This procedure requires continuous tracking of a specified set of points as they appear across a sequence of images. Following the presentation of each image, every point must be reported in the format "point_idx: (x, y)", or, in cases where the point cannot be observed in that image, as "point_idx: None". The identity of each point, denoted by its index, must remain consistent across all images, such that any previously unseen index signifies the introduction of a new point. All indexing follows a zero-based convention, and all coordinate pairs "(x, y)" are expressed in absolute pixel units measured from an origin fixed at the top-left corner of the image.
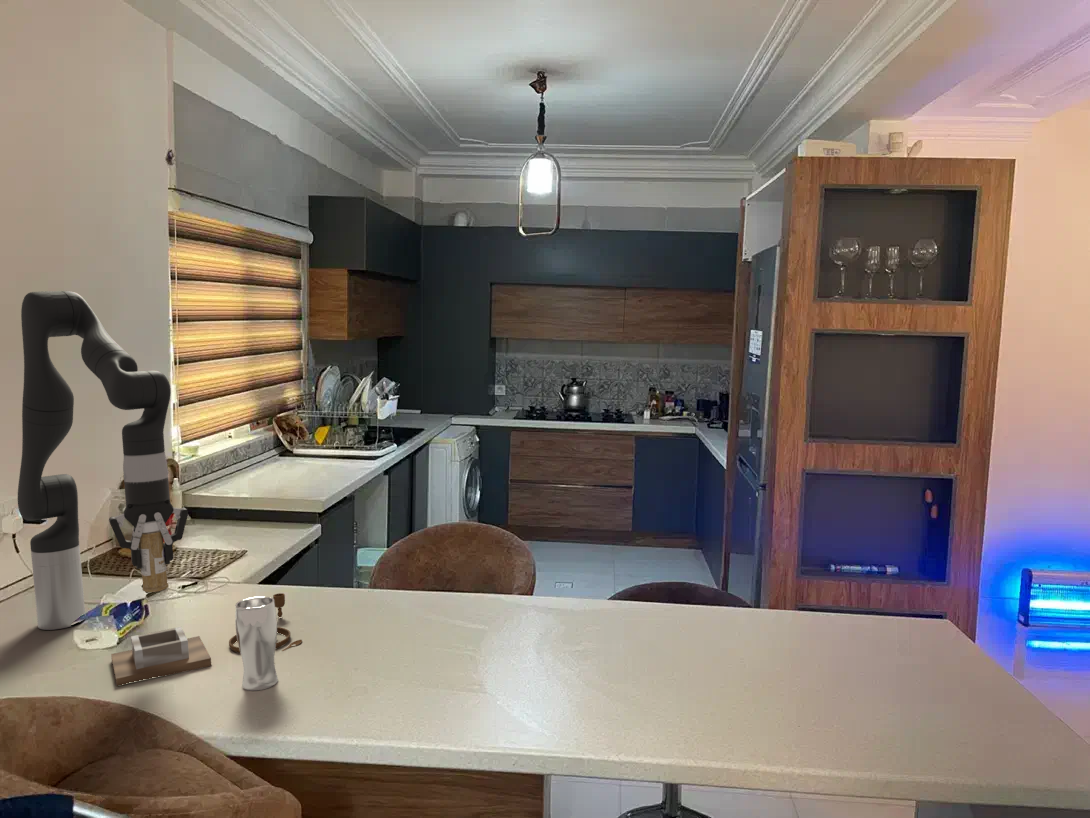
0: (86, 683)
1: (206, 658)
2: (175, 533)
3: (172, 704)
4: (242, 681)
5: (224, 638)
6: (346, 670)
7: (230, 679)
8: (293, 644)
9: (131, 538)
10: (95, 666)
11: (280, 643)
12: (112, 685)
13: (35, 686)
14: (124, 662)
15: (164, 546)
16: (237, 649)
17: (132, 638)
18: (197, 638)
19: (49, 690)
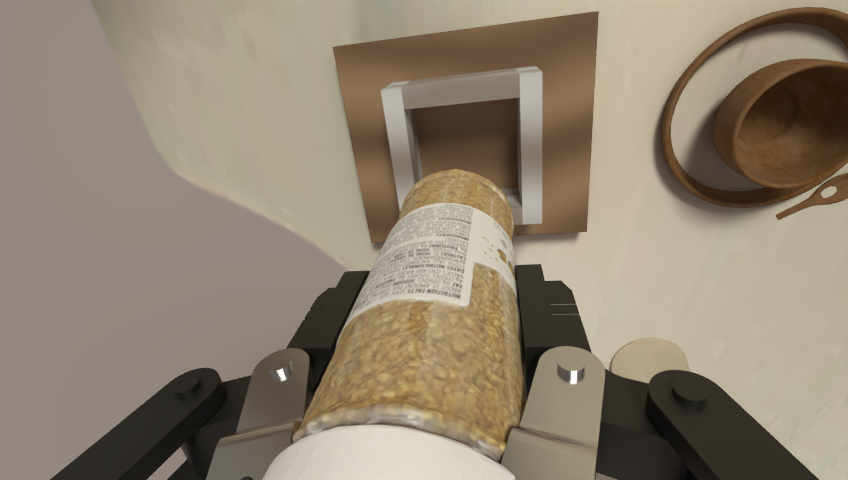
0: (307, 178)
1: (576, 228)
2: (664, 460)
3: None
4: (615, 369)
5: (677, 2)
6: (829, 394)
7: (601, 317)
8: (832, 185)
9: (245, 420)
10: (303, 64)
11: (797, 193)
12: (365, 220)
13: (197, 135)
14: (378, 145)
15: (525, 394)
16: (672, 172)
17: (387, 114)
18: (587, 37)
19: (237, 178)
